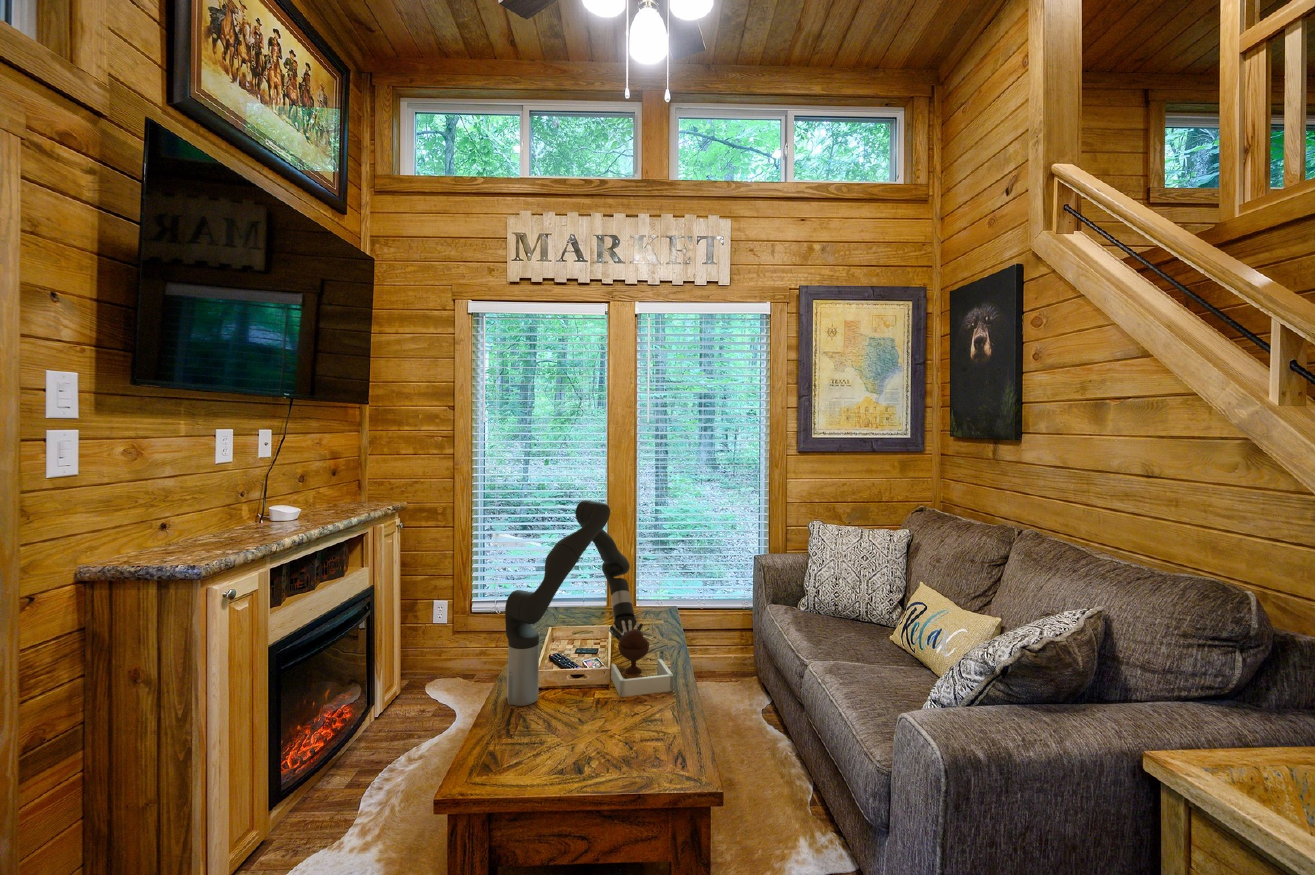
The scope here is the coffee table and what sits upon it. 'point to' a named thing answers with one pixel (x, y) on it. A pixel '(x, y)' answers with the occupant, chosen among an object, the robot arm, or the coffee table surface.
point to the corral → (643, 682)
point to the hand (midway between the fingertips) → (630, 651)
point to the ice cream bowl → (633, 649)
